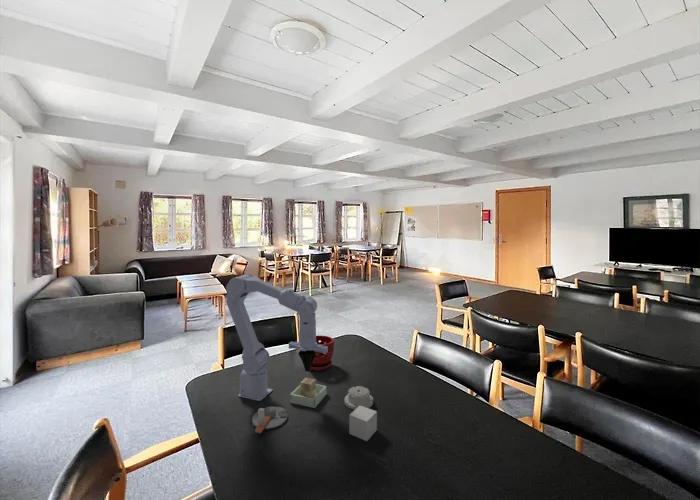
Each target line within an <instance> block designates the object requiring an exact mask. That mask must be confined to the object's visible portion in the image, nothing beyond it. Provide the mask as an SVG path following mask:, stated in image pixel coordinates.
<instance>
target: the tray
mask: <svg viewBox="0 0 700 500" xmlns="http://www.w3.org/2000/svg"><path fill="white" fill-rule="evenodd" d="M327 387H328V386H326V385H323V384H319V383H316V396H315V397H314V398H310V397H305V396H300V384H299V385H298V386H296V388H295V389H294V390H293V391H292V392H291V393H290V394H289V403H290V404H294V405H299V406H304V407H309V408H313V409H316V407H318V405H319V404H320V403H321V402H322V400H323V399H324V398H325V397H326V396H327V394H328V392H327V389H328V388H327Z"/></svg>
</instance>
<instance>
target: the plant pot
mask: <svg viewBox="0 0 700 500" xmlns="http://www.w3.org/2000/svg"><path fill="white" fill-rule="evenodd" d="M316 343H317V344H320V345H323V346H327V347H328V352H327V353H326V354H323V353H321V352H317V353H316V355H315V357H314V360H313V363H312V367H311V370H310V371H323V370H327V369H329V368H330V367H331V366H332V364H333V362H332V361H333V360H332V358H333V356H334V355H333V354H334V351H335V350H334V348H335V339H334V338H333V337H331V336H329V335H316Z"/></svg>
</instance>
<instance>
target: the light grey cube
mask: <svg viewBox="0 0 700 500" xmlns="http://www.w3.org/2000/svg"><path fill="white" fill-rule="evenodd" d="M348 417H349V419H348V422H349V429H348V430H349V435H352V436H354V437H356V438H358V439H361V440H363V441H365V442H368V441H369V440H370V439H371V438H372V436H373V435H374V434H375V433H376V431H378V424H377V423H378V411H377V410H374V409H371V408H366V407H363V406H359V407H358V408H356V409H355V410H353V411H352V412H351V413H350V414H349V415H348Z"/></svg>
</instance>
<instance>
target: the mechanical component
mask: <svg viewBox="0 0 700 500" xmlns="http://www.w3.org/2000/svg"><path fill="white" fill-rule="evenodd" d="M347 390H348V391H347V394H346V396H345V397H344V405H345V406H346V407H347V408H349V409H351V410H353V411H354V410H355V409H356V408H358V407H359V406H363V407H366V408H369V409H371V407H372V406H373V404H374V397H373V396H372V395H371V394H370V393H371V392H370V390H369V389H368V387H364V386H362V385H360V386H359V385H357V386H352V387H350V388H349V389H347Z"/></svg>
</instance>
